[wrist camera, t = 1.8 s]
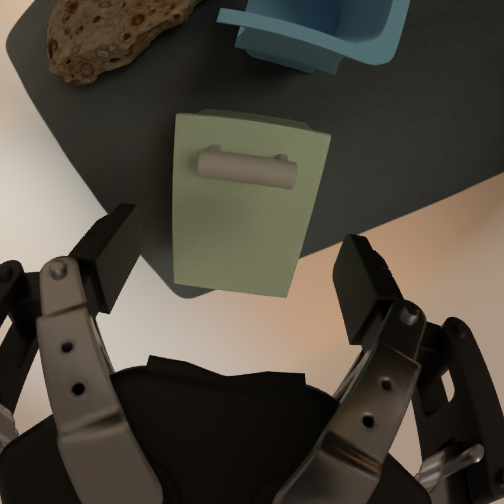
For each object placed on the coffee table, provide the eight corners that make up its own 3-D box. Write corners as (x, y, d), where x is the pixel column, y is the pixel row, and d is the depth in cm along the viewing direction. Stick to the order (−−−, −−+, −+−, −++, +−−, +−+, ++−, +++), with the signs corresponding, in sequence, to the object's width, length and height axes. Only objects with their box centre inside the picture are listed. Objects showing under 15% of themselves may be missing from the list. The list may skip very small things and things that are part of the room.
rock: (164, -69, 14) (158, -100, 6) (235, -7, 23) (252, -24, 15) (44, 39, 19) (4, 44, 12) (111, 96, 29) (87, 115, 21)
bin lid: (178, 112, 19) (154, 125, 15) (329, 133, 20) (349, 152, 15) (175, 278, 29) (162, 317, 24) (286, 292, 29) (289, 333, 25)
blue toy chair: (260, -4, 20) (260, -98, 4) (331, 16, 21) (421, -41, 5) (242, 55, 25) (213, 22, 8) (312, 74, 26) (389, 77, 9)
